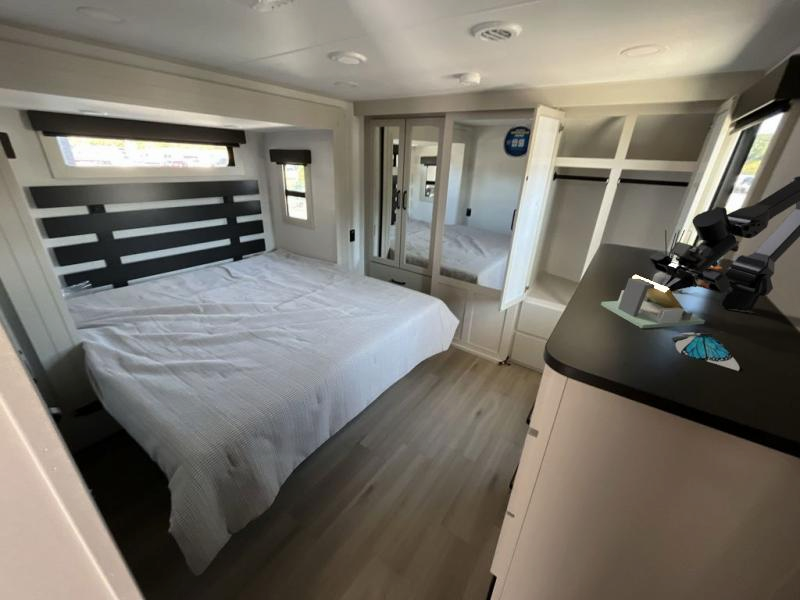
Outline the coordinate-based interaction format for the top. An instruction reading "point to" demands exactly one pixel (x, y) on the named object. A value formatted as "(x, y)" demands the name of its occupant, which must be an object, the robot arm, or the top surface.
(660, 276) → the reed diffuser
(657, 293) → the gold rectangular plate
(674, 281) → the robot arm
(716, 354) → the decorative butterfly
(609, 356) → the top surface
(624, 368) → the top surface
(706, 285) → the brown piece
